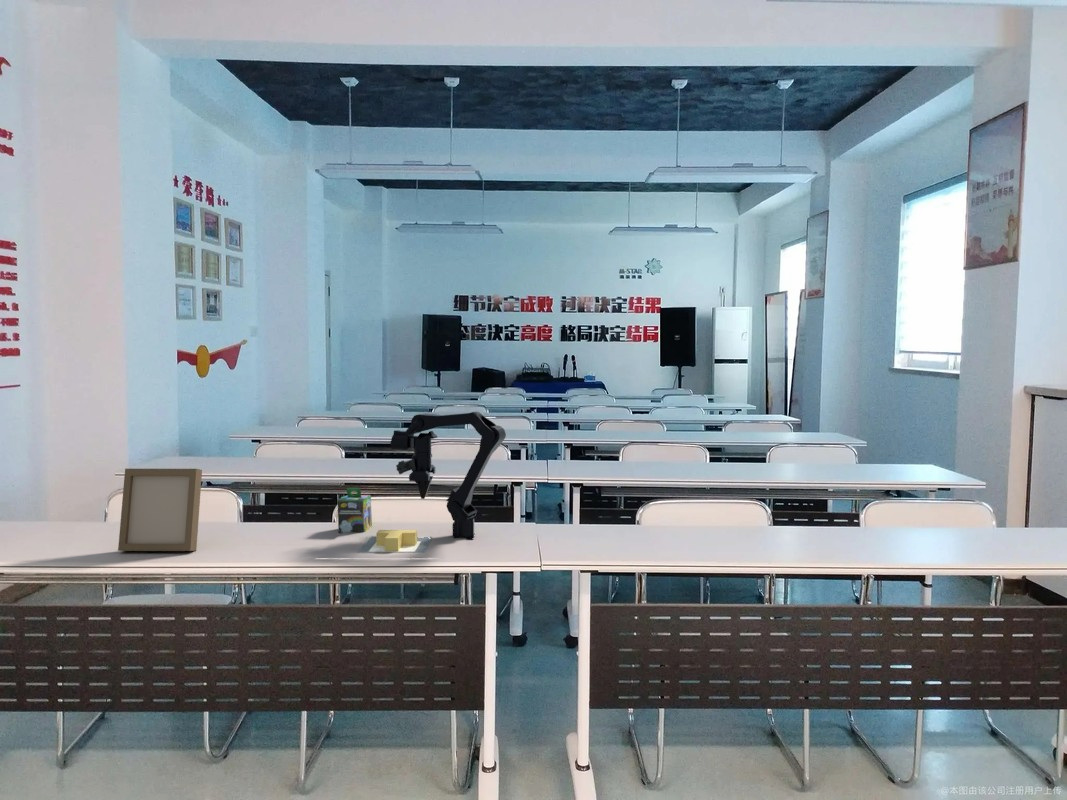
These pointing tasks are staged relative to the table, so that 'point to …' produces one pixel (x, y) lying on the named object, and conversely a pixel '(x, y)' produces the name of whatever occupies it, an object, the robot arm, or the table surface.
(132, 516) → the photo frame
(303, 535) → the table surface
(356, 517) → the chalk box
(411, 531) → the T block
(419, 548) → the mat
